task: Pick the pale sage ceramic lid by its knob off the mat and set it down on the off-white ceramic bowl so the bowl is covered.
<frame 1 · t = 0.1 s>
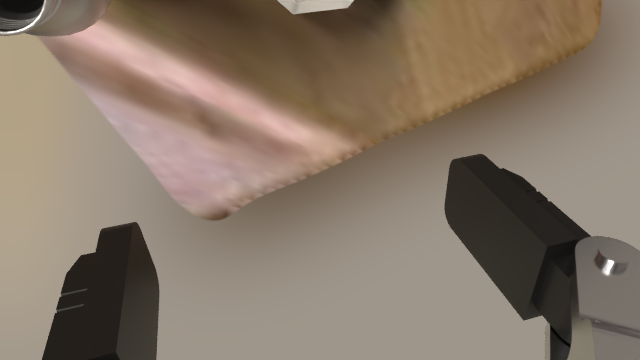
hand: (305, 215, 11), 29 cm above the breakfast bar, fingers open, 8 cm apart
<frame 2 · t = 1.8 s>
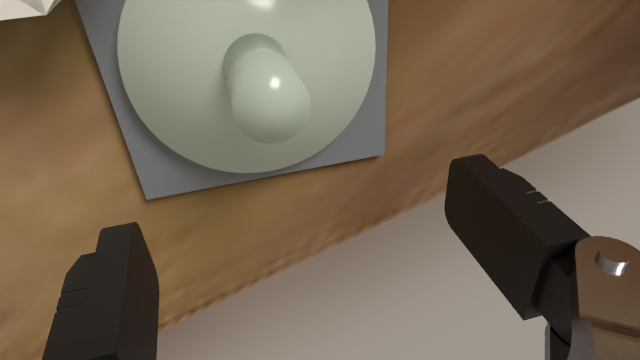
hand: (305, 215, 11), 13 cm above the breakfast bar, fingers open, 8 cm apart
mat: (251, 54, 22), on the breakfast bar
lid: (253, 58, 22), point 1 cm above the breakfast bar, touching mat
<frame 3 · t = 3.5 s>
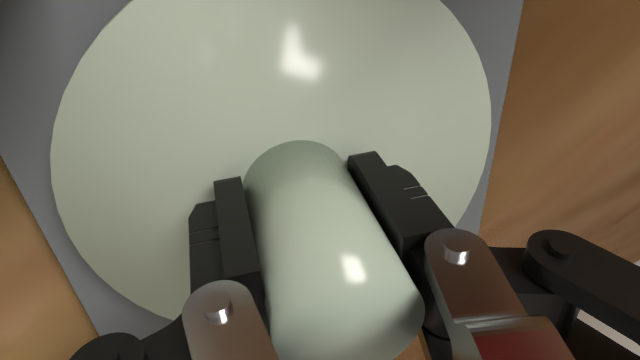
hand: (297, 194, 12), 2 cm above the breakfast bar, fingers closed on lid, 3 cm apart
mat: (284, 158, 14), on the breakfast bar
lid: (288, 169, 13), point 1 cm above the breakfast bar, touching gripper, mat
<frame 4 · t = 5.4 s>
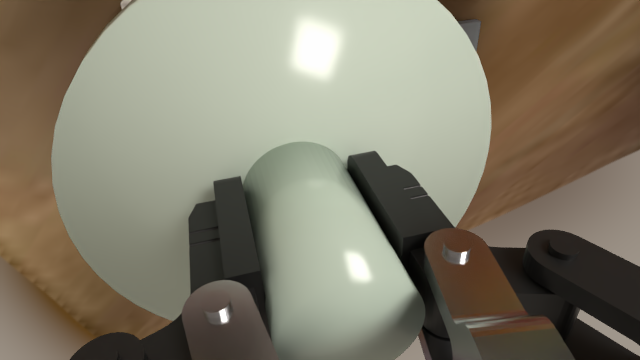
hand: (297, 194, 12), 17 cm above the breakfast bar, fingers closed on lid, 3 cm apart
mat: (374, 128, 32), on the breakfast bar
lid: (289, 170, 13), point 16 cm above the breakfast bar, touching gripper
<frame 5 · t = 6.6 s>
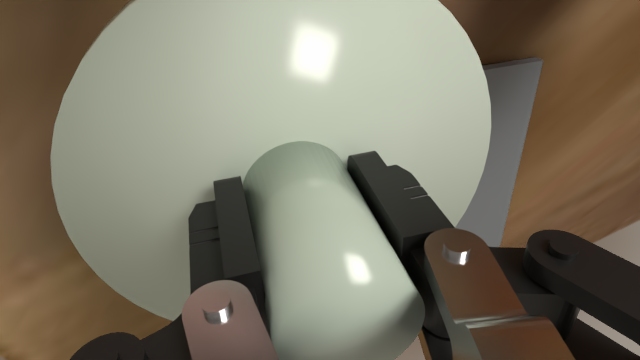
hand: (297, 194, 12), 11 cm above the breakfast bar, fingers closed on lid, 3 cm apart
mat: (413, 182, 28), on the breakfast bar
lid: (289, 169, 13), point 10 cm above the breakfast bar, touching gripper
when the fingers open (8 cm above the breakfast bar, at t = 7.5 s): lid drops 1 cm, resting on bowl.
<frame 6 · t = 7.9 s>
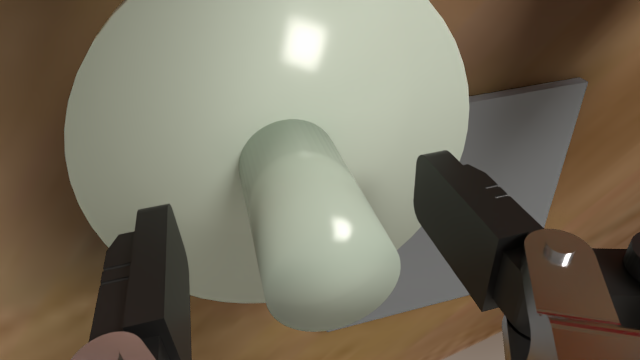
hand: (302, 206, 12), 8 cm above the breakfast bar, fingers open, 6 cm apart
mat: (437, 214, 25), on the breakfast bar
lid: (282, 148, 14), point 5 cm above the breakfast bar, touching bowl
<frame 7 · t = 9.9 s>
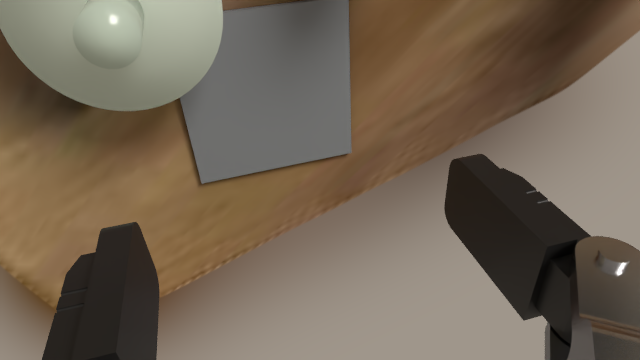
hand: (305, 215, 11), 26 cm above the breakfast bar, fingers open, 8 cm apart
mat: (268, 93, 37), on the breakfast bar
lid: (117, 10, 26), point 5 cm above the breakfast bar, touching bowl
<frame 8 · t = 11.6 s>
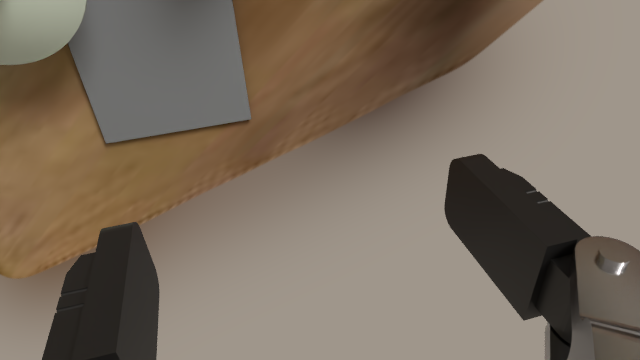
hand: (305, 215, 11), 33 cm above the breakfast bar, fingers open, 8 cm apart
mat: (162, 59, 40), on the breakfast bar
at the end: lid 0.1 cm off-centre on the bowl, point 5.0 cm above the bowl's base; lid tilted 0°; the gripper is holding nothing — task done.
